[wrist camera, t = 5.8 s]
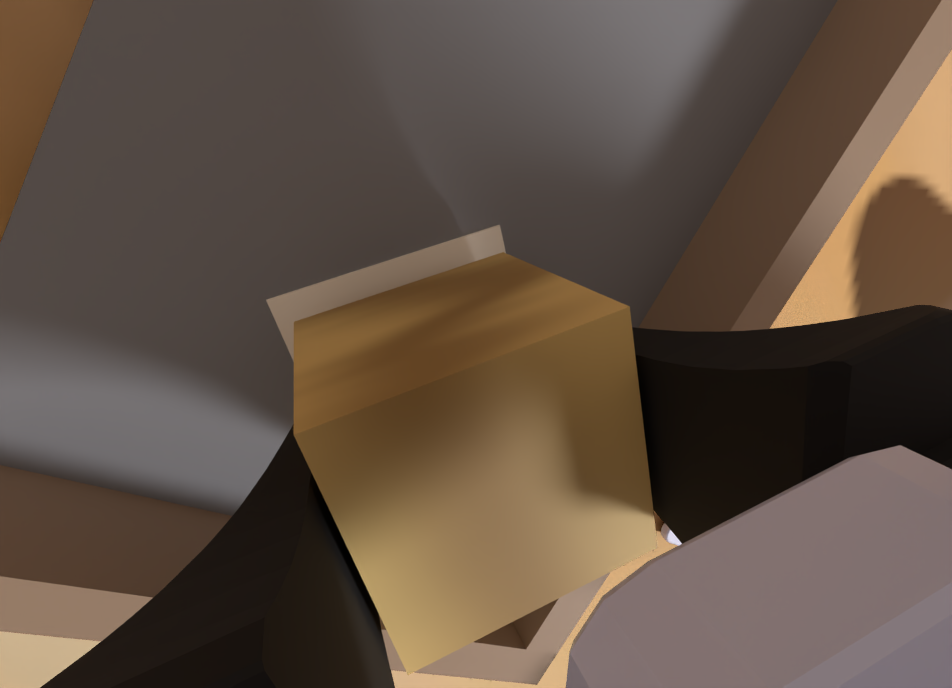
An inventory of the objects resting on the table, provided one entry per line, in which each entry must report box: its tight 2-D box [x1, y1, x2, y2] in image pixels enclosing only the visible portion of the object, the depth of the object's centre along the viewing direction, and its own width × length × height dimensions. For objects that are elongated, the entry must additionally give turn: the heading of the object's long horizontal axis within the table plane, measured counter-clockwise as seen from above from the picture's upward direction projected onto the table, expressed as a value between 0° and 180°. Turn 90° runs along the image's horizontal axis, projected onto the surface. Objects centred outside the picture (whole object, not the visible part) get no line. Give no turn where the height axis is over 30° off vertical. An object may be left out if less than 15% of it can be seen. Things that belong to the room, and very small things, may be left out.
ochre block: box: [294, 252, 658, 675], centre depth 10 cm, size 5×5×5 cm
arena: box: [0, 0, 952, 685], centre depth 11 cm, size 16×24×4 cm, turn 149°
